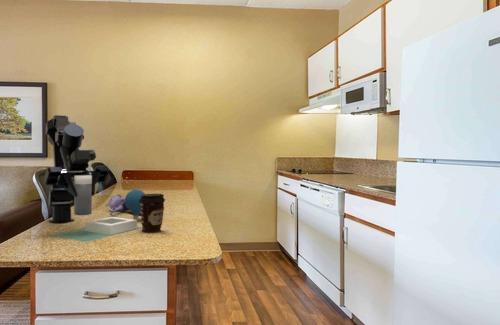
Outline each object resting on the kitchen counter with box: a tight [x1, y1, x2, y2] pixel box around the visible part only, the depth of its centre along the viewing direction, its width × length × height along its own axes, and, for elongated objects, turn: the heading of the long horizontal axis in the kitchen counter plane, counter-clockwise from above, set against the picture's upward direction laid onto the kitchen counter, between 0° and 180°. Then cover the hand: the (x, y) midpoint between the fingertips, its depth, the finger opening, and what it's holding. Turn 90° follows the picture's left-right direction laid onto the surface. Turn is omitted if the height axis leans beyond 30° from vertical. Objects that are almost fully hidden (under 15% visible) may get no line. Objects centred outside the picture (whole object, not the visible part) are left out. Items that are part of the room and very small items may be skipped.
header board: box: [49, 216, 142, 243], centre depth 130 cm, size 16×24×4 cm, turn 153°
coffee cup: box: [139, 193, 166, 234], centre depth 132 cm, size 9×8×13 cm
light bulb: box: [124, 189, 146, 221], centre depth 155 cm, size 8×8×12 cm
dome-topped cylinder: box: [73, 175, 93, 216], centre depth 125 cm, size 5×5×12 cm
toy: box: [104, 194, 141, 217], centre depth 172 cm, size 26×9×30 cm
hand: (84, 195), depth 124 cm, fingers closed on dome-topped cylinder, 5 cm apart
